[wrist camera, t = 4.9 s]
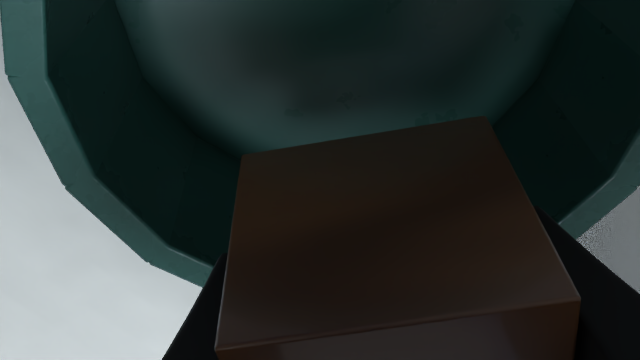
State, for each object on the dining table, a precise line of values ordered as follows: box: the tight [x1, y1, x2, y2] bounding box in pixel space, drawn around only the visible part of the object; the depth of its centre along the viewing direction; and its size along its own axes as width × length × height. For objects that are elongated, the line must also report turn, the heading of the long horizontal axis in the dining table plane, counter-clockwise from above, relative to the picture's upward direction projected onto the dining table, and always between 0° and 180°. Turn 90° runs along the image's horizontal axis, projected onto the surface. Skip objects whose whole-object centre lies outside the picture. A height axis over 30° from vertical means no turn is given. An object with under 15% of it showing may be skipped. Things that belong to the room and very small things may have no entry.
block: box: [214, 116, 581, 360], centre depth 10 cm, size 4×4×4 cm
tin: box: [0, 0, 640, 288], centre depth 14 cm, size 14×14×6 cm
